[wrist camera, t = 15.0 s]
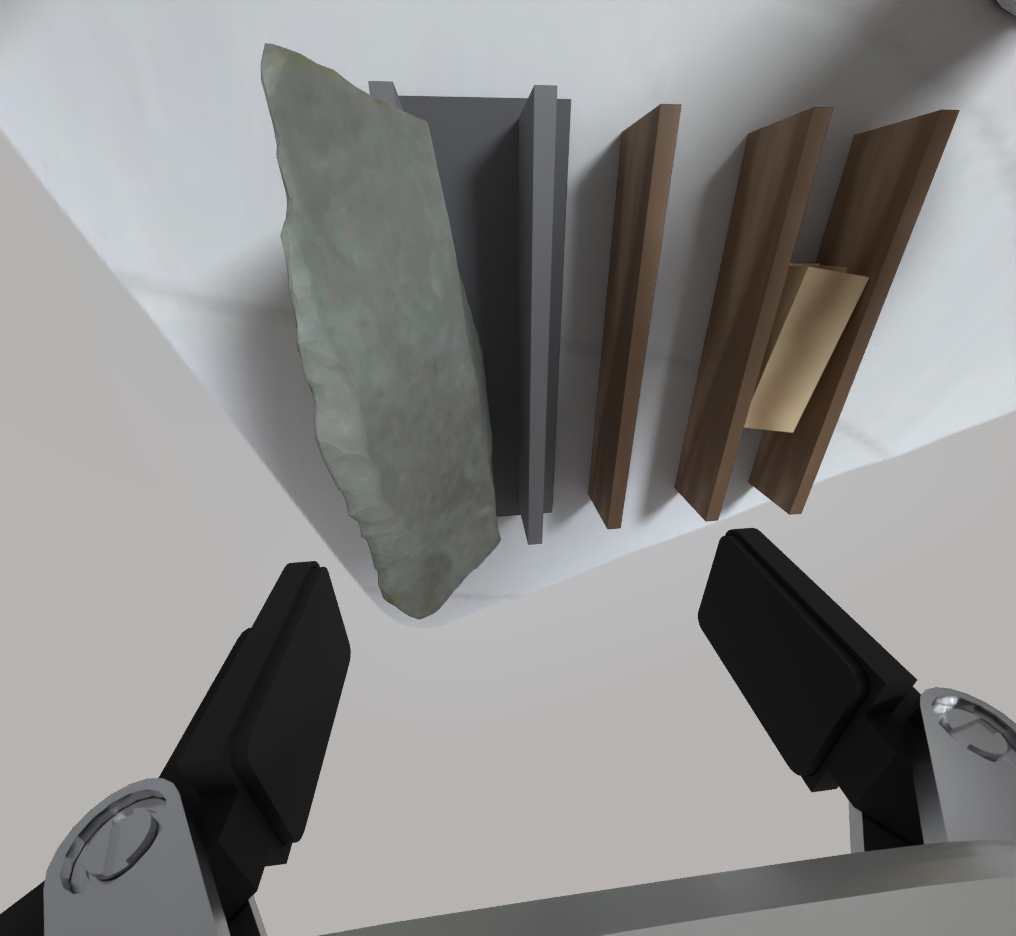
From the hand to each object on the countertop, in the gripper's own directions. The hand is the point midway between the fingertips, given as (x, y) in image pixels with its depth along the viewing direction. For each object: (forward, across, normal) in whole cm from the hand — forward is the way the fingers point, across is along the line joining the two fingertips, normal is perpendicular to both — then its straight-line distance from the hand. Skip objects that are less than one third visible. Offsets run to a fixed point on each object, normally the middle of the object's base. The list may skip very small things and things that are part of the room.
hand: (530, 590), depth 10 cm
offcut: (+24, -24, 0) cm, 34 cm away
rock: (+26, 0, 0) cm, 27 cm away
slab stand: (+27, 0, 0) cm, 27 cm away
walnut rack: (+27, -20, 0) cm, 34 cm away
